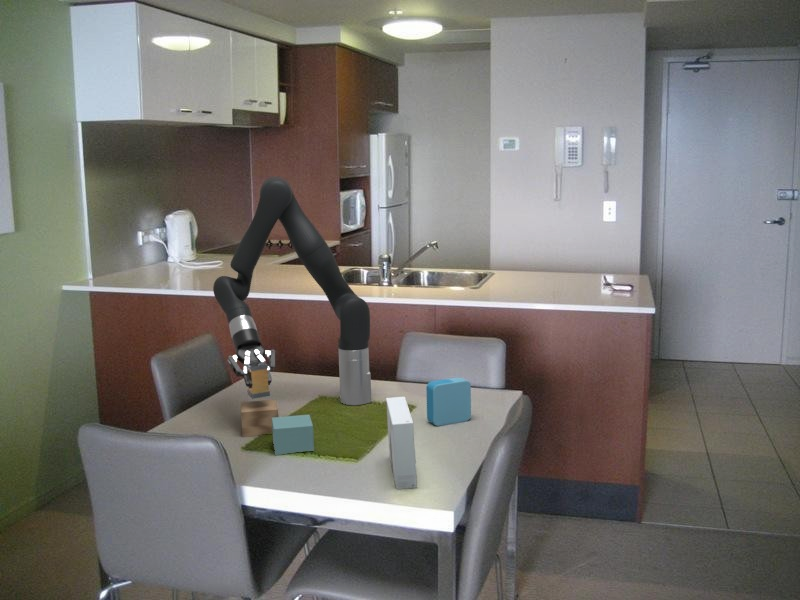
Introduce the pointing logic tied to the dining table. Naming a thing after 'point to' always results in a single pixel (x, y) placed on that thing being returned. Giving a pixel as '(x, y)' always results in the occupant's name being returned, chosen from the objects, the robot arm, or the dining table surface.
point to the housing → (258, 379)
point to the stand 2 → (292, 434)
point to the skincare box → (401, 443)
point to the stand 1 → (258, 417)
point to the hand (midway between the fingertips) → (260, 385)
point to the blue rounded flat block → (448, 401)
